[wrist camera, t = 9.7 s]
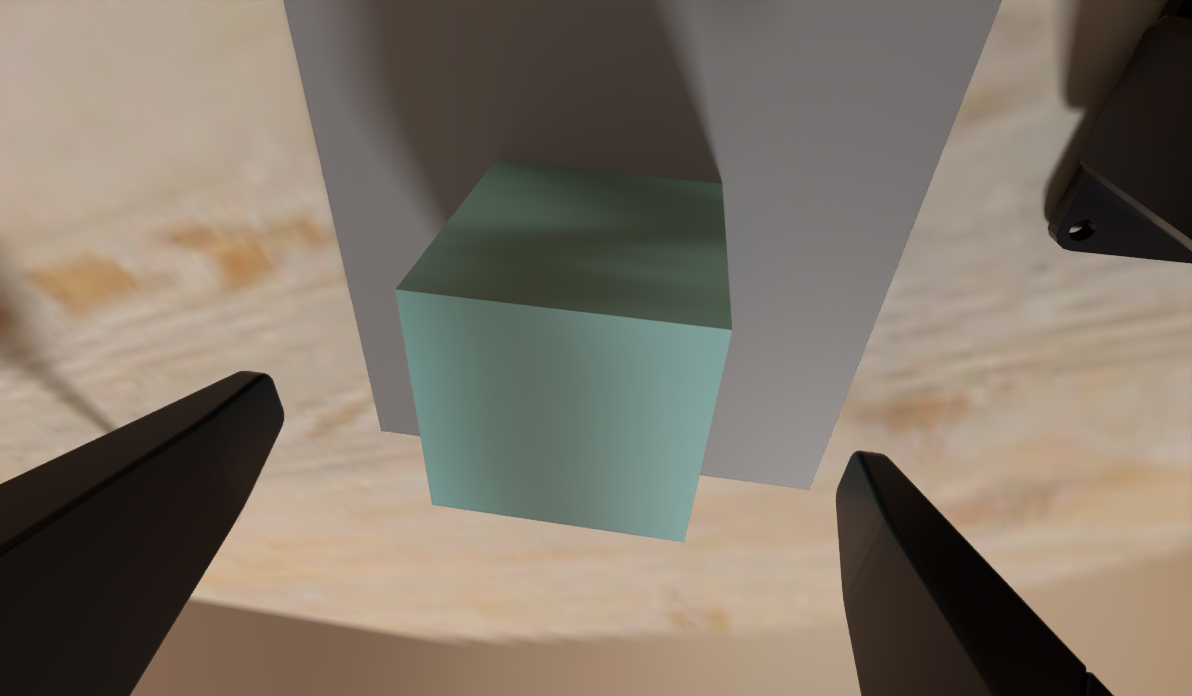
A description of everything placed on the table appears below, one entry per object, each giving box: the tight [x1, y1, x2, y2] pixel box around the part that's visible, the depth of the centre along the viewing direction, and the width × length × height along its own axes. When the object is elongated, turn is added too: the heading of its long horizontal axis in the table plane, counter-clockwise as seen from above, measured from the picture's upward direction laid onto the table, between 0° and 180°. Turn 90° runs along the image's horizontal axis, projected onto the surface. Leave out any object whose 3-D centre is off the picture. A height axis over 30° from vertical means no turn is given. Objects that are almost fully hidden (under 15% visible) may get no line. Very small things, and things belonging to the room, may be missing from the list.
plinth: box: [284, 0, 1002, 490], centre depth 14 cm, size 12×12×2 cm
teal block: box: [395, 160, 732, 542], centre depth 11 cm, size 4×4×5 cm
